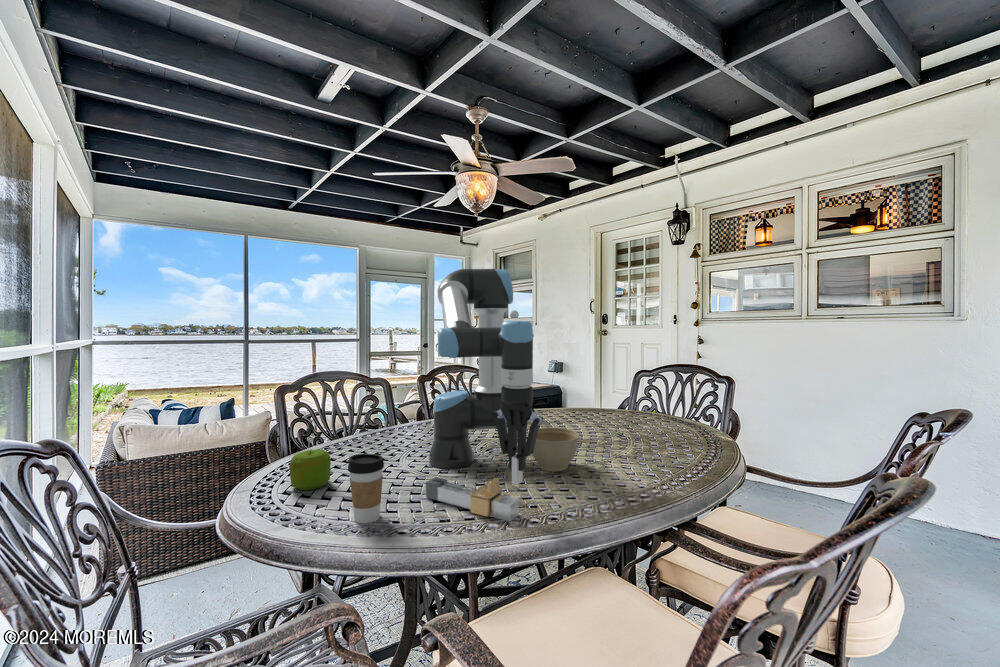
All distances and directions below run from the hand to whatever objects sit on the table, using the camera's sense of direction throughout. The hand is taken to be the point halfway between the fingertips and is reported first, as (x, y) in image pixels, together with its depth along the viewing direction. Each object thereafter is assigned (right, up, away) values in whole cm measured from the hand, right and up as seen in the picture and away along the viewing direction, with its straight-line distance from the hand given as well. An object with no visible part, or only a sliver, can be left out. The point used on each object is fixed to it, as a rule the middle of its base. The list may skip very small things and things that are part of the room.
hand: (517, 482), depth 107 cm
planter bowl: (+13, -8, +36) cm, 39 cm away
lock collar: (-7, -8, +4) cm, 12 cm away
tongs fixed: (-12, -9, +7) cm, 16 cm away
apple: (-59, -9, +22) cm, 63 cm away
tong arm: (-15, -8, +10) cm, 20 cm away
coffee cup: (-37, -9, +1) cm, 38 cm away
